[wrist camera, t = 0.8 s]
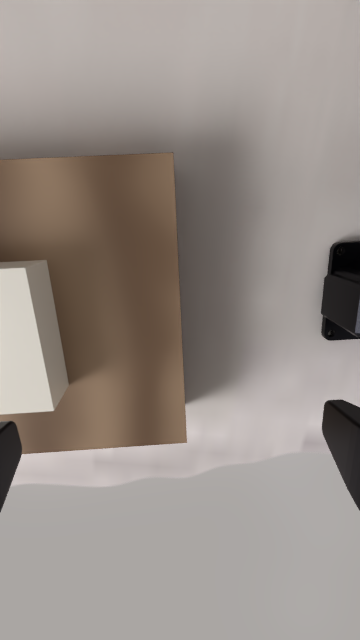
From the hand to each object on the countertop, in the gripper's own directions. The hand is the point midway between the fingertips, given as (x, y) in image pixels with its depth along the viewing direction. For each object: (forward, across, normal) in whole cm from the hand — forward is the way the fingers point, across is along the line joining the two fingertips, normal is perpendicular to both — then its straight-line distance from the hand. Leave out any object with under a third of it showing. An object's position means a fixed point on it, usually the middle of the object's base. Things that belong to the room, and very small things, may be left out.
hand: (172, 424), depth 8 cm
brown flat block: (+13, +8, 0) cm, 15 cm away
